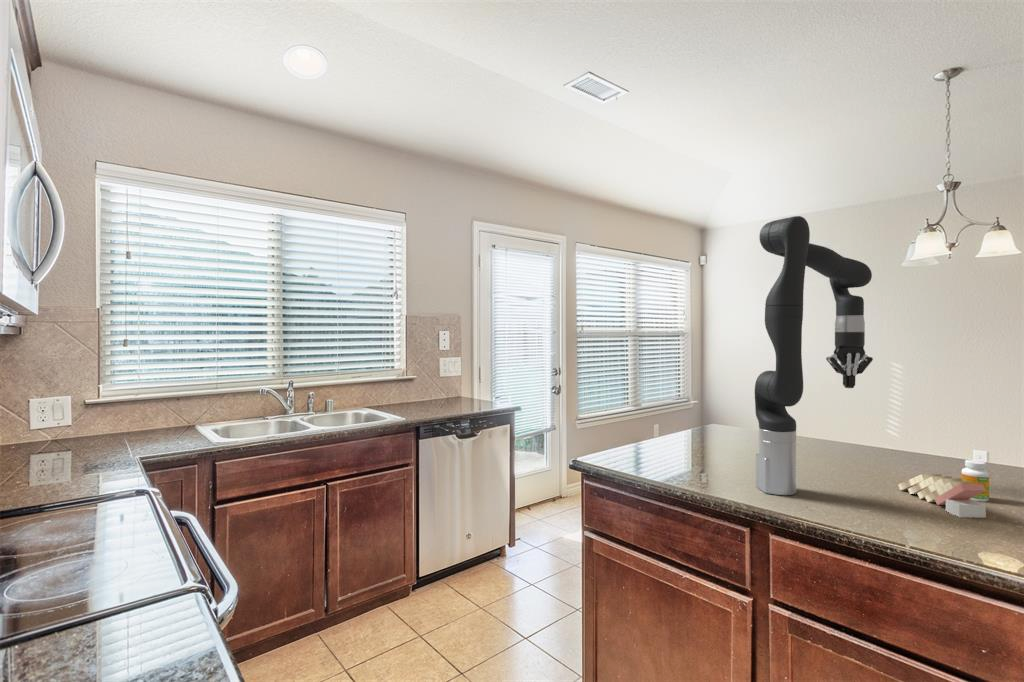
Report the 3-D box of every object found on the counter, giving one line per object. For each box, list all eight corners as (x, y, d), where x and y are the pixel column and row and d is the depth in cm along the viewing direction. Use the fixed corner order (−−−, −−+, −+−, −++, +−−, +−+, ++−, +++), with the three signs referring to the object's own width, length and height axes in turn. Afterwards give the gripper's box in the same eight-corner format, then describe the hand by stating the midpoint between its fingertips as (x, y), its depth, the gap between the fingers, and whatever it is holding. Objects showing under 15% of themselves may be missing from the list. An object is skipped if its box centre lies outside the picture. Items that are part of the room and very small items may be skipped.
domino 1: (900, 490, 139) (923, 480, 131) (897, 484, 140) (921, 474, 131) (918, 490, 139) (943, 480, 130) (916, 484, 140) (941, 474, 131)
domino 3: (919, 499, 132) (944, 484, 124) (916, 493, 133) (941, 478, 125) (939, 499, 132) (965, 484, 124) (936, 493, 133) (961, 478, 125)
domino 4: (927, 502, 129) (953, 487, 121) (924, 496, 130) (949, 481, 122) (947, 502, 129) (974, 488, 121) (944, 496, 130) (971, 481, 122)
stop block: (959, 517, 119) (959, 504, 119) (945, 511, 123) (945, 499, 123) (985, 517, 119) (985, 505, 119) (971, 511, 123) (971, 499, 123)
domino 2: (910, 494, 135) (934, 482, 127) (907, 488, 136) (931, 476, 128) (929, 494, 135) (954, 482, 127) (926, 489, 136) (951, 476, 128)
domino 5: (937, 504, 126) (964, 490, 118) (934, 498, 127) (960, 483, 119) (957, 505, 126) (986, 490, 118) (954, 498, 127) (982, 483, 119)
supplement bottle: (979, 502, 129) (979, 465, 129) (955, 496, 134) (956, 460, 134) (994, 500, 130) (994, 463, 130) (970, 494, 135) (970, 458, 135)
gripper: (834, 330, 148) (834, 389, 149) (880, 330, 148) (880, 389, 148) (820, 330, 156) (819, 386, 156) (863, 330, 155) (863, 386, 156)
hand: (849, 387), depth 152 cm, fingers closed
